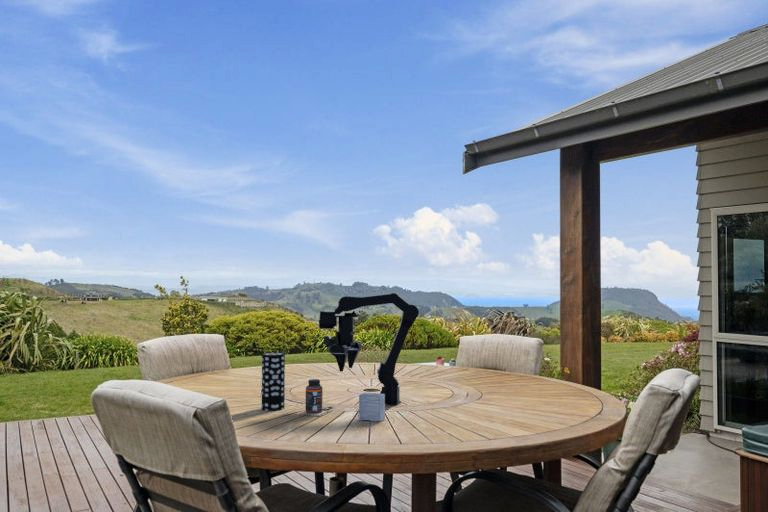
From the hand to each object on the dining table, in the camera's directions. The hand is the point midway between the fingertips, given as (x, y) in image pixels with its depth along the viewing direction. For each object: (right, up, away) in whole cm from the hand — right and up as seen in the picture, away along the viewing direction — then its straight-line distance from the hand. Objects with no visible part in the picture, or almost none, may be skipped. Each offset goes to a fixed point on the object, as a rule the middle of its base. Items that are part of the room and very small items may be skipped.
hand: (345, 369), depth 234 cm
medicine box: (+11, -12, -28) cm, 33 cm away
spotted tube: (-26, -13, -10) cm, 31 cm away
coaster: (-10, -12, -18) cm, 24 cm away
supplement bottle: (-10, -12, -18) cm, 24 cm away
